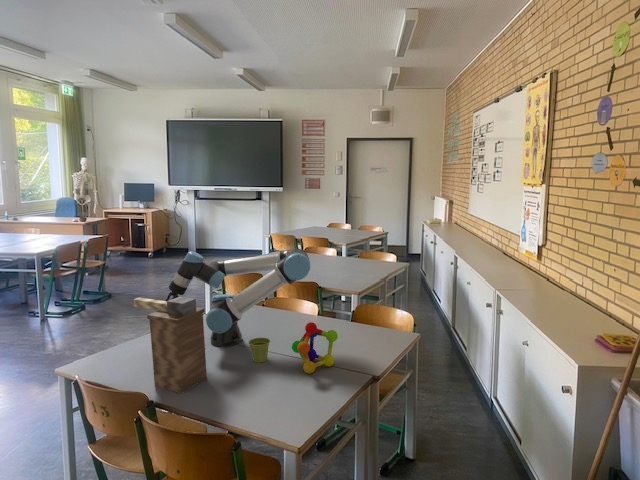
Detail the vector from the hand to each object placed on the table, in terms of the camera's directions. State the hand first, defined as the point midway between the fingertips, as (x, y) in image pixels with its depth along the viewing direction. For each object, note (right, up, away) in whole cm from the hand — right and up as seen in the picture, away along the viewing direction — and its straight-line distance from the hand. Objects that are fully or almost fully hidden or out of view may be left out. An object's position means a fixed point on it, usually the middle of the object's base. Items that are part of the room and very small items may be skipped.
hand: (157, 323), depth 208 cm
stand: (+18, -18, -25) cm, 36 cm away
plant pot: (+47, -15, -6) cm, 50 cm away
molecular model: (+70, -16, -13) cm, 73 cm away
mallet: (+11, +11, -27) cm, 31 cm away
